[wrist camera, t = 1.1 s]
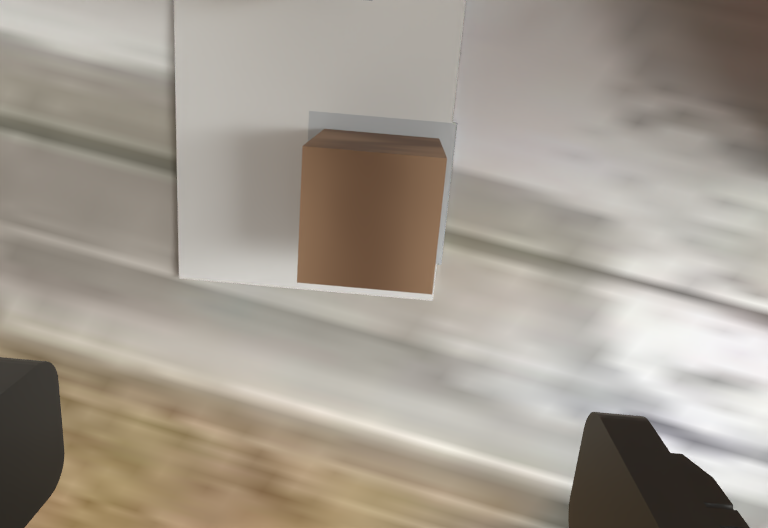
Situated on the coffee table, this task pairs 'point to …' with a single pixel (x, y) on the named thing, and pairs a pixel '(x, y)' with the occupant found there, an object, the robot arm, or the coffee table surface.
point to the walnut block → (370, 210)
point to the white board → (295, 116)
